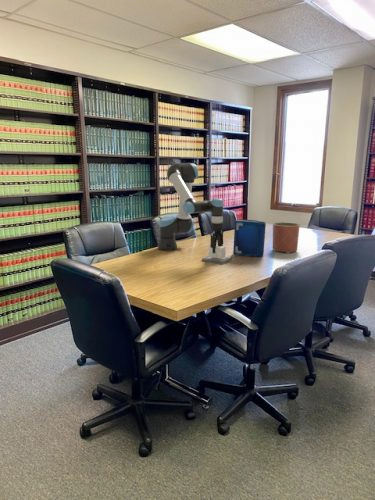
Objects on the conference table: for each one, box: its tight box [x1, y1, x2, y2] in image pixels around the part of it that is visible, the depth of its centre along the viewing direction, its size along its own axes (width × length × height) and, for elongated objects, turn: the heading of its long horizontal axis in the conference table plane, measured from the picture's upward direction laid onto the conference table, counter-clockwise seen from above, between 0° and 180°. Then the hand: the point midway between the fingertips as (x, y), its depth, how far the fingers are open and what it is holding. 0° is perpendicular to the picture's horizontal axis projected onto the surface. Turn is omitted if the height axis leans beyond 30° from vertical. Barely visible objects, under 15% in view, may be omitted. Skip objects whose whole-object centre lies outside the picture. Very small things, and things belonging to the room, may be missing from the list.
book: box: [232, 218, 267, 258], centre depth 258 cm, size 22×7×25 cm, turn 71°
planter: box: [272, 221, 300, 254], centre depth 273 cm, size 19×19×20 cm
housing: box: [208, 245, 226, 259], centre depth 246 cm, size 10×6×7 cm, turn 56°
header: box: [201, 255, 232, 265], centre depth 247 cm, size 16×12×5 cm
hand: (216, 256), depth 247 cm, fingers closed on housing, 6 cm apart
